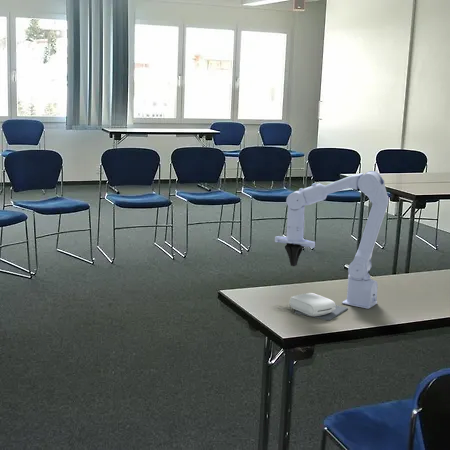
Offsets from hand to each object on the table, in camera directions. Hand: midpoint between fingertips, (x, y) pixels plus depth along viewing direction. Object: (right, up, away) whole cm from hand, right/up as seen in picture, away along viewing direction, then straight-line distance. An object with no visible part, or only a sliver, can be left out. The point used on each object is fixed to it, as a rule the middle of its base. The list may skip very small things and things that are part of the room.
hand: (293, 265), depth 232 cm
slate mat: (+7, -14, -15) cm, 22 cm away
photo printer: (+1, -10, -12) cm, 16 cm away
